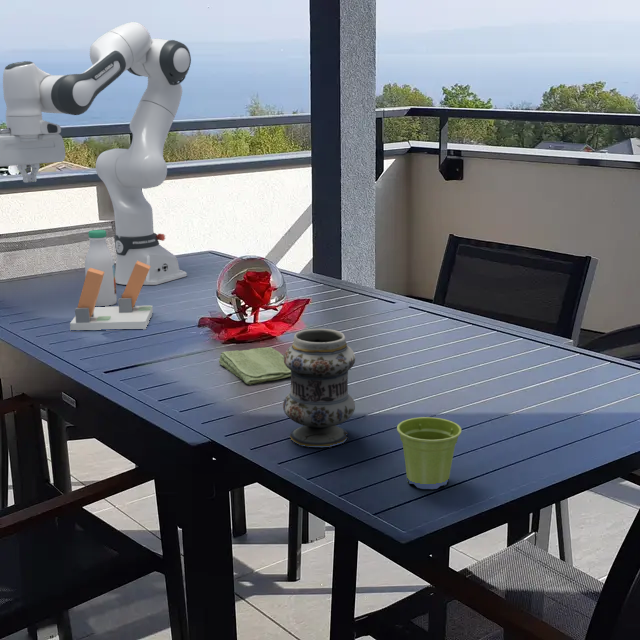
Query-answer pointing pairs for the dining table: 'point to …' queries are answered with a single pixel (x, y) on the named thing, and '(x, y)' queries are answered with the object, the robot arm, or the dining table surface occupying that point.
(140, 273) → the lever
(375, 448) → the dining table surface
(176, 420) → the dining table surface
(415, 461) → the plant pot
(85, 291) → the lever
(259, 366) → the washcloth
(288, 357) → the apothecary jar
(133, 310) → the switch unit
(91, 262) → the milk bottle
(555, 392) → the dining table surface
